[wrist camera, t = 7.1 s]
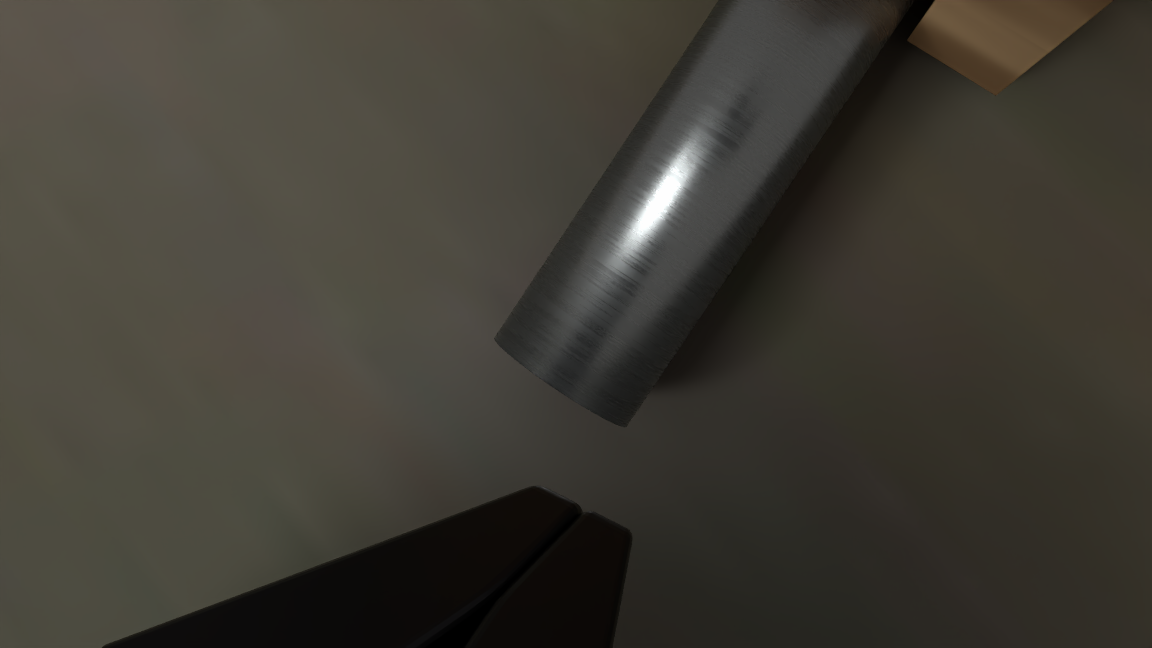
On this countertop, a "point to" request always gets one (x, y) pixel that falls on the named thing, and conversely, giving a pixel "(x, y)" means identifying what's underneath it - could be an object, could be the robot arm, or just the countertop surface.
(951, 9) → the rectangular wooden block
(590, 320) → the steel pipe
